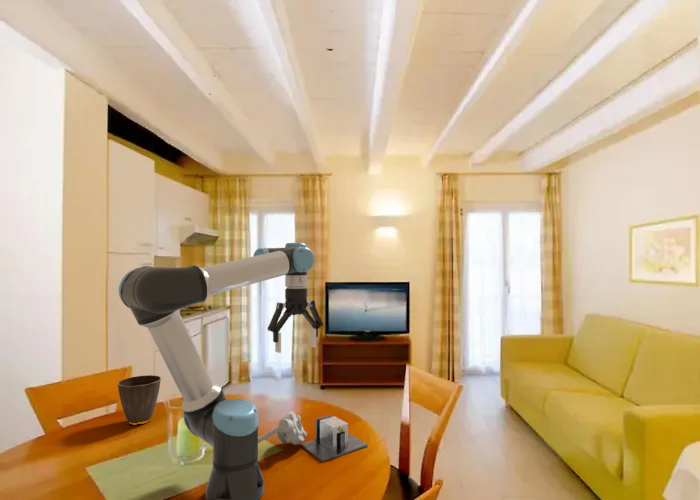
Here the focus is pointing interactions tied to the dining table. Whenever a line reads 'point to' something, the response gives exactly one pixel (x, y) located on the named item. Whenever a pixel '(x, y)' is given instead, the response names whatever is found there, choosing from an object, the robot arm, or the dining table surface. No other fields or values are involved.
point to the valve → (288, 430)
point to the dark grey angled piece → (326, 453)
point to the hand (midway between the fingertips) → (296, 349)
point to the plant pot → (139, 397)
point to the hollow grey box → (332, 432)
